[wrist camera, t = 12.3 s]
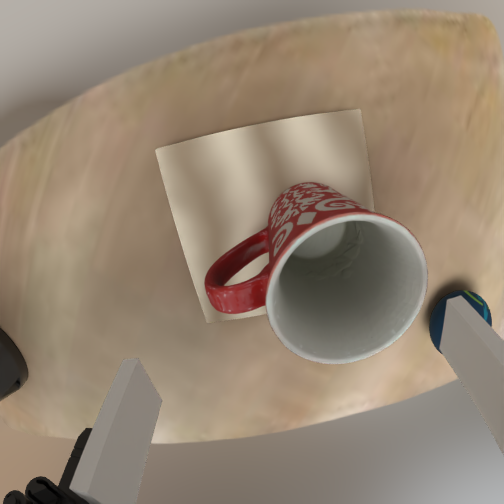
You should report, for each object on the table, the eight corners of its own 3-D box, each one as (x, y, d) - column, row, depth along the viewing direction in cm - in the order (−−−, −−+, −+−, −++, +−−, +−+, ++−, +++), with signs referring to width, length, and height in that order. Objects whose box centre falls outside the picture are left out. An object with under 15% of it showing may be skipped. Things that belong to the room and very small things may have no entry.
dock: (210, 308, 35) (207, 323, 32) (164, 146, 28) (155, 149, 26) (369, 278, 33) (378, 291, 31) (350, 110, 27) (360, 108, 24)
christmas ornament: (476, 304, 35) (515, 346, 26) (432, 343, 37) (463, 391, 28) (458, 265, 33) (504, 307, 24) (409, 309, 35) (444, 360, 26)
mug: (355, 165, 26) (435, 204, 13) (359, 260, 29) (418, 349, 17) (210, 183, 27) (173, 237, 14) (228, 277, 30) (213, 381, 18)
